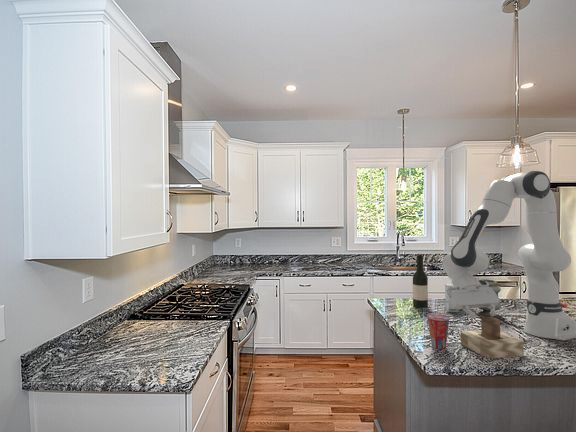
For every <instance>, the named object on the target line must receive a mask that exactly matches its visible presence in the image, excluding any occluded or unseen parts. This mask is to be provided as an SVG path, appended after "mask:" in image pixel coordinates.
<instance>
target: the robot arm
mask: <svg viewBox="0 0 576 432" xmlns="http://www.w3.org/2000/svg"><path fill="white" fill-rule="evenodd" d="M555 198H556V197H555V195H554V192H553V190H552V189H551V181H550V177H549V176H548V175H547V173H545V172H544V171H539V170H532V171H531V170H530V171H521V172H518V173H514V174H511V175H506V176H504V177H502V178H501V179H496V180H493V181H492V182H491V183H490V184H489V186H488V188H487V190H486V191H485V194H484V196H483V197H482V201H480V202H481V203H480V205H479V207H478V209H476V211H475V212H473V214H472V216H471V217H470V218H469V221H468V222H467V225H466V226H465V228H464V230H463V232H462V234H461V236H460V238H459V239H458V241H457V242H456V243H455V244H454V245H453V247H452V248H451V249H450V253H448V254H446V255H445V256H444V257H443V259H442V267H443V270H444V272H445V273H446V275H447V278H449V279H450V280H451V284H453V286H454V288H448V289H447V294H448V296H449V298H450V301H451V304H452V306H453V307H454V308H455V309H459V310H463V312H465V313H466V314H468V316H469V317H470V318H471V319H475V318H476V317H477V313H475V311H472V310H471V309H479V308H481V307H488V308H489V309H491V312H490V314H491V316H496V315H498V314H497V310H496V311H495V306H497V305H498V304H499V302H500V303H501V301H500V297H499V295H498V296H497V294H496V293H495V292H494V290H493V289H492V288H490V287H488V286H489V283H488V282H487V281H483V280H481V279H478V278H476V277H474V276H476V275H479V274H481V273H483V272H485V271H487V269H488V268H489V266H490V261H491V260H490V257H489V255H488V254H486V253H485V252H484V251H482V250H480V249H478V248H477V242H478V241H479V239H480V236H481V234H482V232H483V231H484V230H485V228H486V227H487V226H491V225H498V224H501V223H502V222H504V221H505V220H506V218H507V217H508V215H509V212H510V210H511V207H512V204H513V201H514V200H515V199H523V200H524V202H525V223H526V225H525V226H526V227H525V228H526V229H525V230H526V232H527V234H528V235H529V236H530V239H531V241H532V243H528V244H527V243H526V244H524V245H522V246H521V247H520V248H519V249H518V251H517V252H518V253H517V256H518V259H519V261H520V262H521V264H522V266H523V270H524V273H525V276H526V280H527V281H526V282H527V299H526V308H527V310H526V315H525V324H523V327H524V328H523V331H524V332H525V333H527V334H529V335H531V336H534V337H539V338H545V339H550V340H551V339H553V340H558V341H568V340H572V339H576V320H575V319H574V318H572V317H571V316H569V315H568V314H567V313H566V312H565V311H564V310H563V308H564V309H568V304H567V303H566V302H565V303H564V302H560V286H559V283H558V281H557V279H555V277H554V274H553V273H555V272H562V271H565V270H567V269H568V268H569V267H570V266H571V263H572V258H571V255H570V252H568V250H566V248H565V246H564V245H563V242H562V239H561V238H560V233H559V228H558V215H557V214H558V213H557V211H558V209H557V204H556V199H555Z"/></svg>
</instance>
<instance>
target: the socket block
mask: <svg viewBox="0 0 576 432" xmlns="http://www.w3.org/2000/svg"><path fill="white" fill-rule="evenodd" d="M460 345H461V346H464V347H465V348H467V349H469V350H471V351H473V352H475V353H477V354H478V355H480V356H482V357H485V359H488V360H490V359H499V358H509V357H517V356H519V357H520V356H524V355H525V354H524V353H525V351H524V348H525V346H524V341H523V340H520V339H518V338H515V337H513V336H511V335H508V334H505V333H503V332H502V331H500V339H496V340H489V339H486V338H484V337H482V336H481V329H475V330H465V331H460Z"/></svg>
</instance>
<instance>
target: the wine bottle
mask: <svg viewBox="0 0 576 432" xmlns="http://www.w3.org/2000/svg"><path fill="white" fill-rule="evenodd" d="M428 282H429V280H428V275H427V274H426V272H425V271H424V255H423V254H422V253H417V255H416V271H415V272H414V274H413V276H412V307H415V308H418V309H419V308H421V309H424V308H428V307H429V285H428V284H429V283H428Z"/></svg>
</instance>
